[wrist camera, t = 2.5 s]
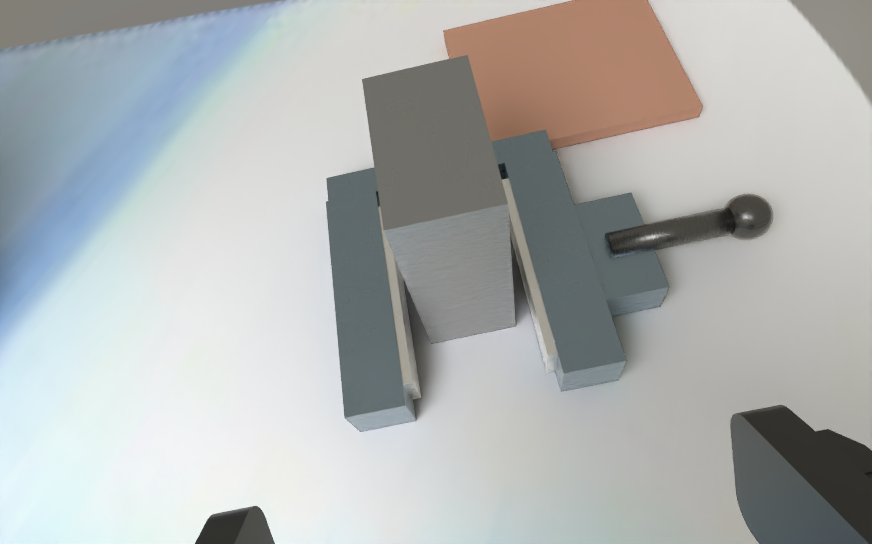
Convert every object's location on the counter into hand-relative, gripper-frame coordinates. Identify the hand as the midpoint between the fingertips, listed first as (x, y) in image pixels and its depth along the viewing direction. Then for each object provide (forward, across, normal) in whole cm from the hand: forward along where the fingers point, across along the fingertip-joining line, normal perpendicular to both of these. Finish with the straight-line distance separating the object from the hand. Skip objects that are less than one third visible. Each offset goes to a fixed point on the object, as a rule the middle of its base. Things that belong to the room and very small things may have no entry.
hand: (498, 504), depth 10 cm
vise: (+19, -4, +2) cm, 19 cm away
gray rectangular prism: (+19, 0, +2) cm, 19 cm away
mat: (+27, -8, -6) cm, 29 cm away
